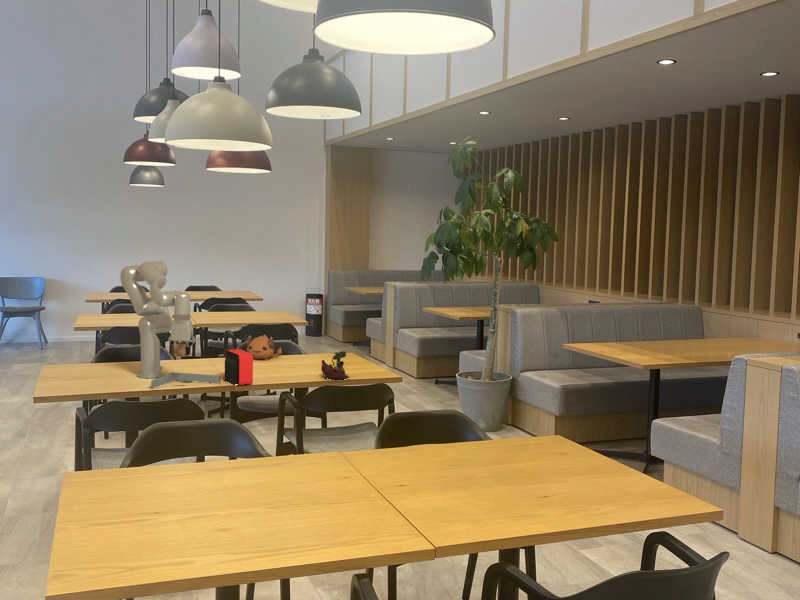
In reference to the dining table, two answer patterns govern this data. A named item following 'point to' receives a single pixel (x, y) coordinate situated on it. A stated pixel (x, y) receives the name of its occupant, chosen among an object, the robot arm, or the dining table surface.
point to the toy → (261, 347)
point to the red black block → (238, 367)
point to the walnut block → (180, 349)
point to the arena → (185, 378)
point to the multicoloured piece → (335, 368)
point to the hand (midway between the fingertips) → (182, 354)
